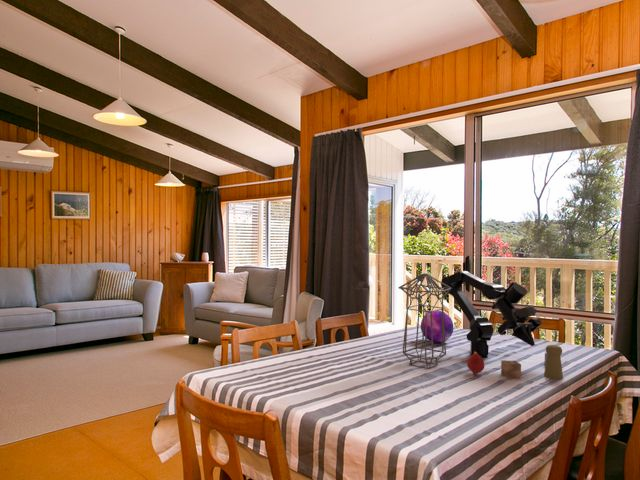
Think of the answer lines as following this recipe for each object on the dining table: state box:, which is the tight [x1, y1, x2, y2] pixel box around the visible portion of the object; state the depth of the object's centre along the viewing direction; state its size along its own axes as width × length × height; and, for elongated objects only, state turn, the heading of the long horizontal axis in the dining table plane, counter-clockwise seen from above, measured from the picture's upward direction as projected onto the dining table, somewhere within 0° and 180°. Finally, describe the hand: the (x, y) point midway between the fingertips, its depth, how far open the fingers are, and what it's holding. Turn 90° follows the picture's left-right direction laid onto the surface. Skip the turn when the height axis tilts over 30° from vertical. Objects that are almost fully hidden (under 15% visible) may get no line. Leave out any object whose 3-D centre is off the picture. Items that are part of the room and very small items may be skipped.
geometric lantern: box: [398, 272, 452, 370], centre depth 177 cm, size 16×16×35 cm
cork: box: [543, 344, 564, 380], centre depth 165 cm, size 6×6×11 cm
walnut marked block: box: [500, 359, 522, 380], centre depth 164 cm, size 5×5×5 cm
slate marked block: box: [544, 350, 547, 367], centre depth 181 cm, size 5×5×5 cm
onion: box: [466, 352, 485, 375], centre depth 166 cm, size 6×6×8 cm
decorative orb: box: [420, 310, 454, 344], centre depth 220 cm, size 15×15×15 cm
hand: (533, 345), depth 172 cm, fingers closed
